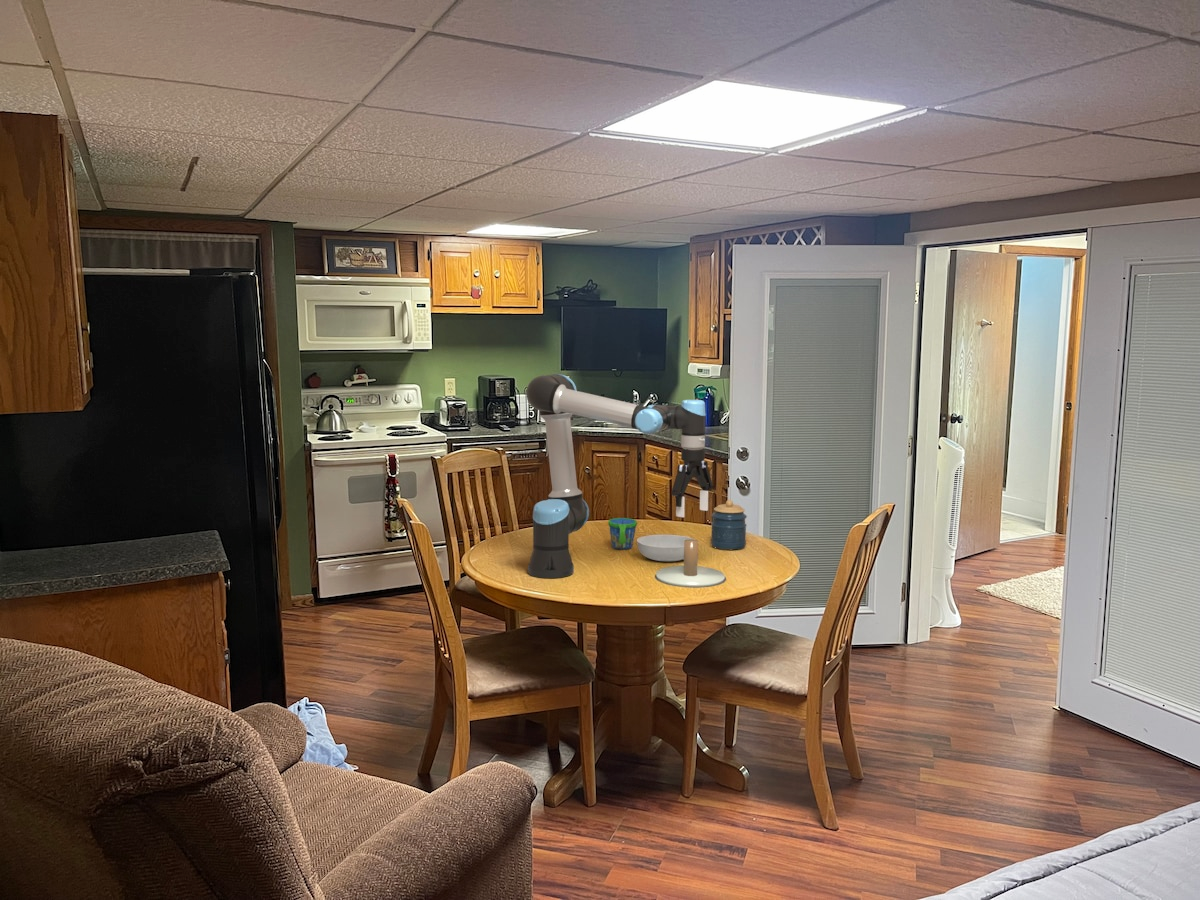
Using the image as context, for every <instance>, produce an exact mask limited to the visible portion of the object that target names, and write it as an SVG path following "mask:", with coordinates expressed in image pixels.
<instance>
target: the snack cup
mask: <svg viewBox="0 0 1200 900" xmlns="http://www.w3.org/2000/svg"><path fill="white" fill-rule="evenodd" d="M607 524H608V526H609V534H610V541H611V547H612V548H613V549H614V550H615V549H617V550H620V549H622V550H623V549H625V550H630V549H632V548H633V545H634V540H635V534H636V527H637V526H638V521H637V520H636V519H634V518H630V517H629V518H627V517H615V518H610V519H608V521H607Z"/></svg>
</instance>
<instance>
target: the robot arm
mask: <svg viewBox="0 0 1200 900" xmlns="http://www.w3.org/2000/svg"><path fill="white" fill-rule="evenodd" d="M525 392H526V393H525V396H526V400H527V402H528V404H529V405H530V406H531V407H532V408H533V409H535V410H537V411H539V416H540V417H541V418H542V419H543V420H544V423H545V435H546V442H547V443H546V444H547V453H548V462H549V470H550V471H549V472H550V473H549V474H550V481H551V492H550V493H549V494H548V495H547V496H548V499H546V500H541V501H539V502H537V503H535V504H534V506H533V508H532V509H533V511H532V552H531V557H530V558H529V559H530V560H529V563H528V565H527V573H529V574H528V575H530V576H532V577H534V578H540V579H560V578H561V579H562V578H566V577H569V576H571V575H573V574H575V573H574V572H575V570H574V569H575V568H574V563H573V560H572V556H571V553H570V549H569V547H570V546H569V543H570V542H569V541H570V540H569V539H570V538H569V536H570V534H572V533H574V532H577V531H579V530H580V529H582V527H584V526H585V525H586V523H587V521H588V519H589V517H590V516H589V515H590V509H589V506H588V504H587V501H585V500H584V497H583V491H582V490H581V489H579V488H578V484H577V483H578V482H577V471H576V463H575V461H576V460H575V454H574V443H573V435H572V423H571V417H572V416H573V415H574V416H579V417H584V418H588V419H592V420H595V421H596V420H597V421H601V422H604V423H610V424H612V425H617V426H622V427H626V428H631V429H635V430H638V431H639V432H641V433H642V434H646V435H647V434H650V435H651V434H655V433H656V432H658V431H662V430H667V429H668V430H681V437H680V438H681V440H680V445H681V449H680V450H681V451H680V452H681V453H680V455H681V457H680V459H681V461H683V464H678V465H677V468H676V469H677V471H676V476H675V479H674V482H673V485H672V489H671V492H670V493H671V495H672V496H673V497H675V516H676V517H678V518H685V496H684V494H685V491H686V490H687V488H688V485H689V484H690V481H691V480H693V478H695V479H696V481H697V483H698V485H699V486H700V488H701V490H699V510H700V511H703V512H705V511H706V512H707V511H709V492H711V491H712V489H713V486H714V485H713V482H712V481H713V480H712V478H711V474H710V469H709V463H708V461H707V460H705V459H706V458H705V457H706V450H705V449H704V448H705V446H706V418H707V417H706V416H707V414H706V402H705V401H704V400H701V399H683V400H682V401H681V404H680V405H666V404H665V405H664V404H663V405H662V404H654V405H653V404H649V405H648V406H644V405H639V404H636V403H632V402H627V401H623V400H618V399H614V398H609V397H605V396H601V395H597V394H591V393H588V392H585V391H584V392H583V391H578V390H577V386H576V384H575V383H574V380H572V379H571V378H570V377H568V376H567V375H565V374H560V373H559V374H558V373H553V374H546V375H544V374H543V375H539V376H536V377H534V378H533V379H531V380H530V382H529V383H528V385H527V387H526V391H525Z"/></svg>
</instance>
